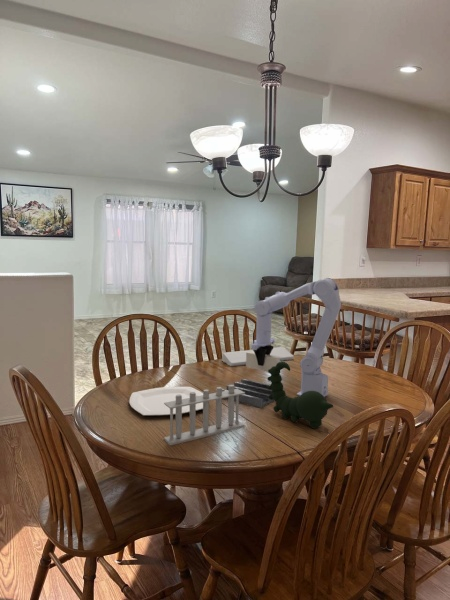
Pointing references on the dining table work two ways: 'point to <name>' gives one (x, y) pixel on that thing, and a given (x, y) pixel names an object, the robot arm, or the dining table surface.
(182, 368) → the dining table surface
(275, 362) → the clay strip
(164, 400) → the plate
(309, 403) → the toy figurine
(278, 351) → the decorative molding
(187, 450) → the dining table surface
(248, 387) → the grey grooved block
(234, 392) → the test tube rack
